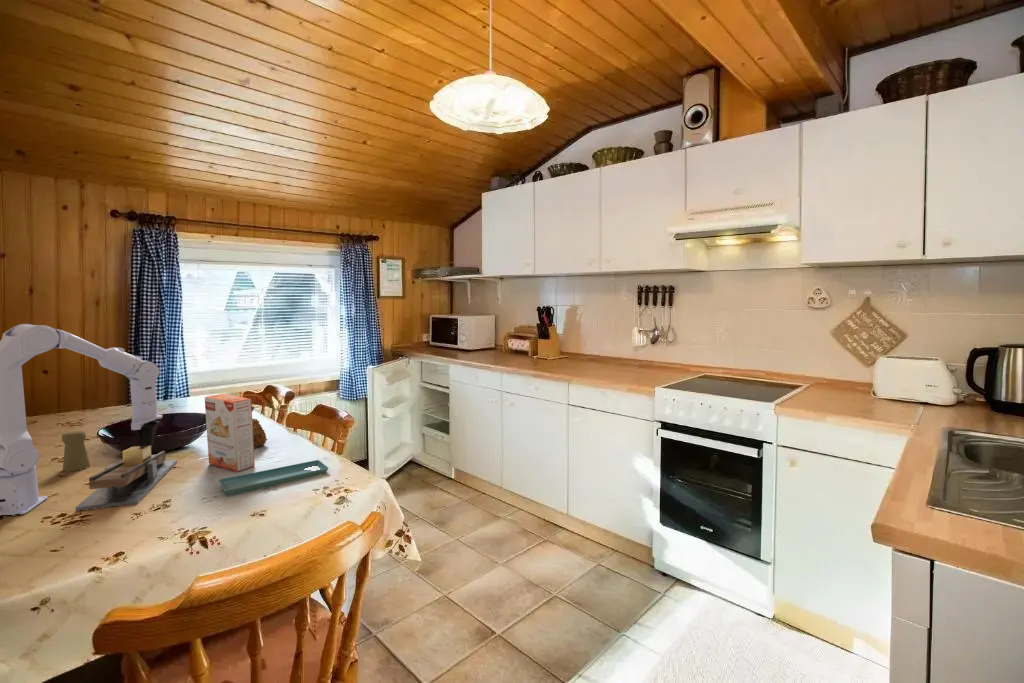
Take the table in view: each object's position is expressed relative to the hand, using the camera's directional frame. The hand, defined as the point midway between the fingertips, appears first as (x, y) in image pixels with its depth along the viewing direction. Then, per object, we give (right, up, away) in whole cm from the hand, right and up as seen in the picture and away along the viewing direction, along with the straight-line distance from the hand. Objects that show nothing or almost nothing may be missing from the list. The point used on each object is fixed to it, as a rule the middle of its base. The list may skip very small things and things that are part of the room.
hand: (147, 447), depth 138 cm
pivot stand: (+4, -8, -10) cm, 13 cm away
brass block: (+3, -3, -7) cm, 8 cm away
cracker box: (+22, -7, +4) cm, 23 cm away
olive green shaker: (-21, -6, +1) cm, 22 cm away
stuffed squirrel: (+18, -5, +23) cm, 29 cm away
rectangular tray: (+41, -8, -6) cm, 42 cm away
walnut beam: (+4, -4, -11) cm, 12 cm away
